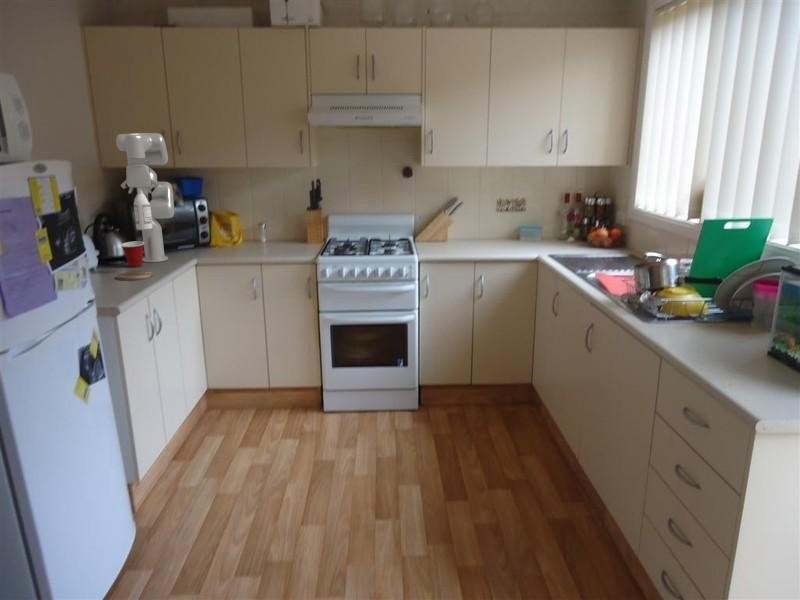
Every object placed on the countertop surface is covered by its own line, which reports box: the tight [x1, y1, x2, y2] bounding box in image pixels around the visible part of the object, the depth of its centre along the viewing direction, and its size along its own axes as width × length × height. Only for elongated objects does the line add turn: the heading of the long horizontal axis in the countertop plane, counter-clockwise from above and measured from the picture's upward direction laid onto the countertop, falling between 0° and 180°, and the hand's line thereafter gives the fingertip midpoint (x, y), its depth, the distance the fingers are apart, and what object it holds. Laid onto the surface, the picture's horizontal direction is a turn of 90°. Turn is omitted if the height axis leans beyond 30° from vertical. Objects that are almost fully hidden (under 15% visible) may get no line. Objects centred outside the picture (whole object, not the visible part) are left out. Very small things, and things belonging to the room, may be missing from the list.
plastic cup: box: [120, 240, 144, 268], centre depth 276 cm, size 11×11×12 cm
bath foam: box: [133, 188, 152, 231], centre depth 257 cm, size 7×7×20 cm
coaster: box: [116, 270, 153, 282], centre depth 256 cm, size 15×15×1 cm
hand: (141, 201), depth 256 cm, fingers closed on bath foam, 6 cm apart
